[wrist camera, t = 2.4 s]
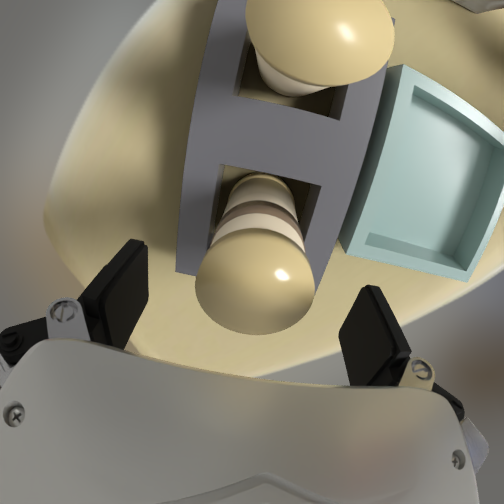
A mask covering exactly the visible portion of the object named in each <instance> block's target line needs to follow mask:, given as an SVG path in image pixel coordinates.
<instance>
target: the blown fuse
mask: <svg viewBox="0 0 504 504" xmlns="http://www.w3.org/2000/svg"><path fill="white" fill-rule="evenodd" d="M195 290H196V296H197V299H198V301H199V303H200V306H201V307H202V309H203V310H204V311H205V313H206V314H207V315H208V316H209V317H210V318H211V319H212V320H213V321H215V322H216V323H218V324H219V325H221V326H223V327H224V328H227V329H229V330H232V331H235V332H238V333H242V334H249V335H266V334H272V333H276V332H279V331H282V330H285V329H287V328H289V327H291V326H292V325H294V324H296V323H297V322H298V321H299V320H301V319H302V318H303V316H304V315H305V314H306V313H307V312H308V310H309V308H310V306H311V305H312V302H313V299H314V294H315V285H314V279H313V274H312V270H311V266H310V263H309V260H308V258H307V256H306V250H305V245H304V241H303V237H302V233H301V229H300V226H299V224H298V220H297V216H296V212H295V202H294V198H293V195H292V192H291V190H290V188H289V187H288V185H287V184H286V183H285V182H284V181H283V180H282V179H280V178H279V177H277V176H275V175H272V174H269V173H253V174H250V175H247V176H245V177H243V178H242V179H240V180H239V181H238V182H237V183H236V184H235V186H234V187H233V189H232V191H231V193H230V195H229V198H228V201H227V206H226V209H225V211H224V214H223V216H222V218H221V220H220V222H219V224H218V226H217V228H216V231H215V233H214V236H213V238H212V241H211V244H210V248H209V249H208V250H207V252H206V254H205V255H204V258H203V260H202V263H201V265H200V268H199V270H198V273H197V276H196V281H195Z"/></svg>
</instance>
